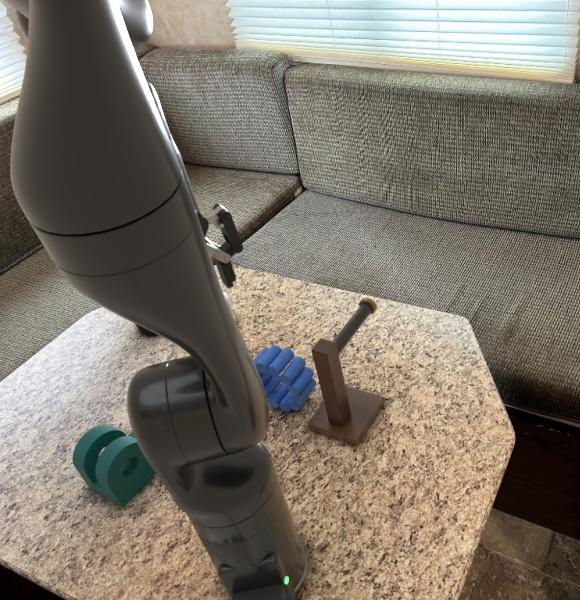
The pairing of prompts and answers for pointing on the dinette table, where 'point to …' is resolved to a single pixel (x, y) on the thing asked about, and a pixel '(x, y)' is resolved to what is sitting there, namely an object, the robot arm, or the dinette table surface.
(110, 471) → the bracket
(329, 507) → the dinette table surface
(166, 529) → the dinette table surface
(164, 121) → the robot arm
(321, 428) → the tape stand
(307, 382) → the blue ribbed cylinder bundle
